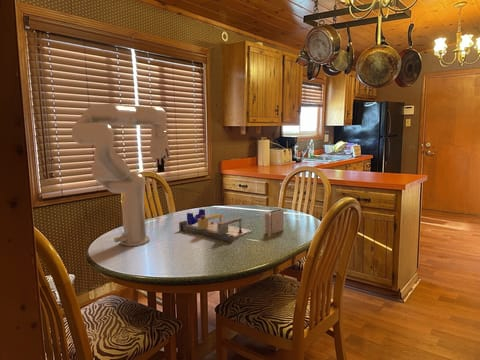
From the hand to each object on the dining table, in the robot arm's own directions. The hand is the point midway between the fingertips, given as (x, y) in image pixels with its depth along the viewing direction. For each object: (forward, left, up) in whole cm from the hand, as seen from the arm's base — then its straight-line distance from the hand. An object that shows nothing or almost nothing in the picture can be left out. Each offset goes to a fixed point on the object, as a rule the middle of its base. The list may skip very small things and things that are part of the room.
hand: (161, 172), depth 181 cm
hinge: (+28, -49, -29) cm, 64 cm away
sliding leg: (+9, -25, -28) cm, 39 cm away
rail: (+4, -27, -29) cm, 40 cm away
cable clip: (+19, -2, -30) cm, 35 cm away
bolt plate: (+16, -26, -29) cm, 42 cm away
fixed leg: (+9, -38, -28) cm, 48 cm away
